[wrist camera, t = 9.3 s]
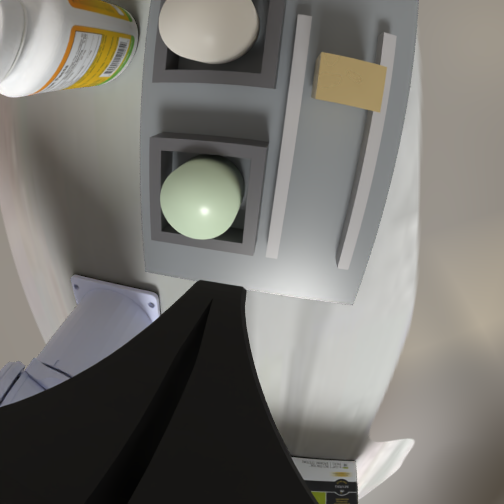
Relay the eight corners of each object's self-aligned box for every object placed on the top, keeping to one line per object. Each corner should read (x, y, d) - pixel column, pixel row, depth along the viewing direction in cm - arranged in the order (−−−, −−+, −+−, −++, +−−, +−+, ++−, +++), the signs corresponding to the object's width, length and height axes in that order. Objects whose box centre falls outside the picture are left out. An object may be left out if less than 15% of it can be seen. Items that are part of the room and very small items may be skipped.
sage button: (241, 225, 16) (233, 244, 15) (175, 215, 17) (160, 233, 15) (248, 158, 15) (240, 169, 13) (177, 150, 15) (160, 160, 13)
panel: (348, 286, 20) (356, 322, 17) (156, 255, 21) (135, 286, 18) (406, 5, 11) (431, -11, 8) (170, -21, 12) (143, -40, 9)
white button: (255, 66, 12) (248, 62, 10) (174, 63, 12) (154, 60, 10) (264, -7, 10) (258, -23, 8) (183, -7, 10) (164, -20, 8)
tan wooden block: (362, 108, 12) (380, 112, 10) (310, 97, 12) (315, 99, 10) (368, 71, 11) (387, 67, 9) (315, 60, 12) (321, 51, 9)
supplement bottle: (67, 25, 13) (-53, 23, 5) (136, -6, 12) (19, -47, 4) (75, 96, 16) (-49, 127, 7) (145, 72, 15) (17, 76, 6)
